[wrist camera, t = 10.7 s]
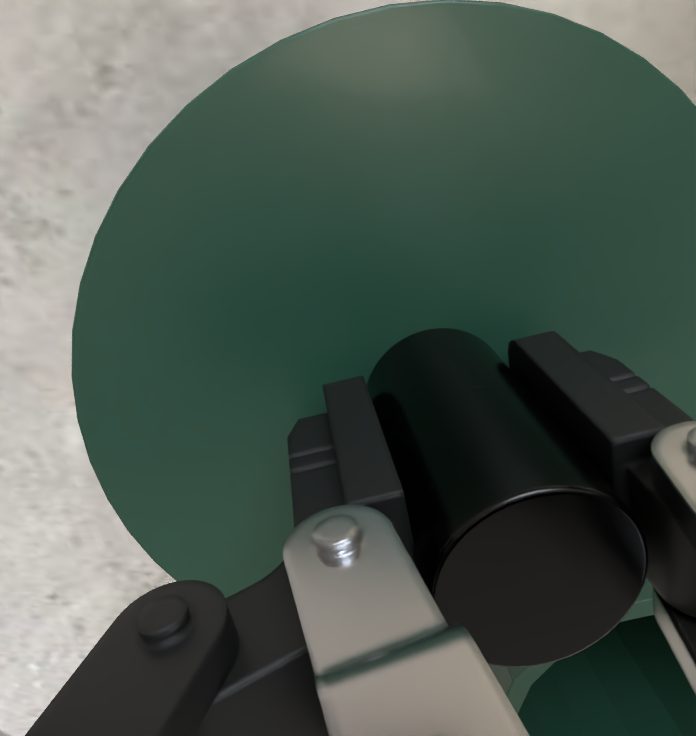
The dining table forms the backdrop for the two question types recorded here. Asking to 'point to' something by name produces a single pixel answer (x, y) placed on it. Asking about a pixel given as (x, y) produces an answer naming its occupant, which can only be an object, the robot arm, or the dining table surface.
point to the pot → (607, 685)
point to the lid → (398, 302)
